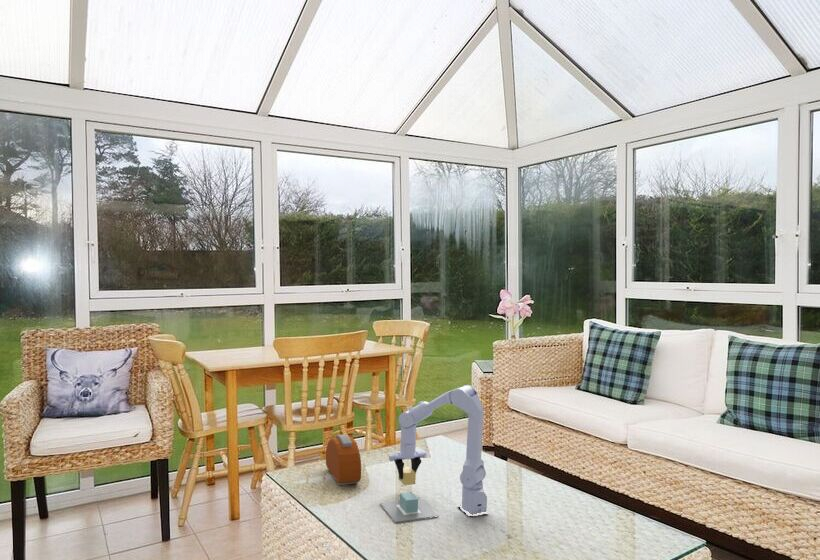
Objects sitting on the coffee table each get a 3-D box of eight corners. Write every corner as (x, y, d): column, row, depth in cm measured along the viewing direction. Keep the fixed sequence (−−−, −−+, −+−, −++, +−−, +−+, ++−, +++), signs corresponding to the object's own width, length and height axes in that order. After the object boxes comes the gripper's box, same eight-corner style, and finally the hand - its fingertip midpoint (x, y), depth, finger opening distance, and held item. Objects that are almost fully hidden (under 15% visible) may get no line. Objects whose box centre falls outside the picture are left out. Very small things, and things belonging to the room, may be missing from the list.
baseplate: (438, 517, 197) (438, 515, 197) (394, 523, 191) (395, 521, 191) (420, 499, 212) (420, 497, 212) (379, 504, 206) (379, 502, 206)
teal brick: (417, 511, 199) (418, 498, 199) (406, 513, 198) (406, 500, 198) (410, 504, 205) (411, 491, 205) (399, 505, 204) (400, 493, 204)
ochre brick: (415, 484, 215) (415, 472, 215) (404, 485, 213) (404, 473, 213) (409, 478, 221) (409, 466, 221) (398, 479, 219) (398, 467, 219)
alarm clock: (361, 486, 223) (362, 443, 222) (338, 488, 219) (340, 445, 219) (345, 466, 244) (346, 427, 244) (324, 468, 241) (326, 428, 241)
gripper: (421, 437, 223) (420, 472, 224) (386, 440, 218) (385, 476, 218) (428, 443, 217) (427, 478, 217) (393, 446, 211) (391, 482, 212)
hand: (407, 477), depth 217 cm, fingers closed on ochre brick, 4 cm apart
